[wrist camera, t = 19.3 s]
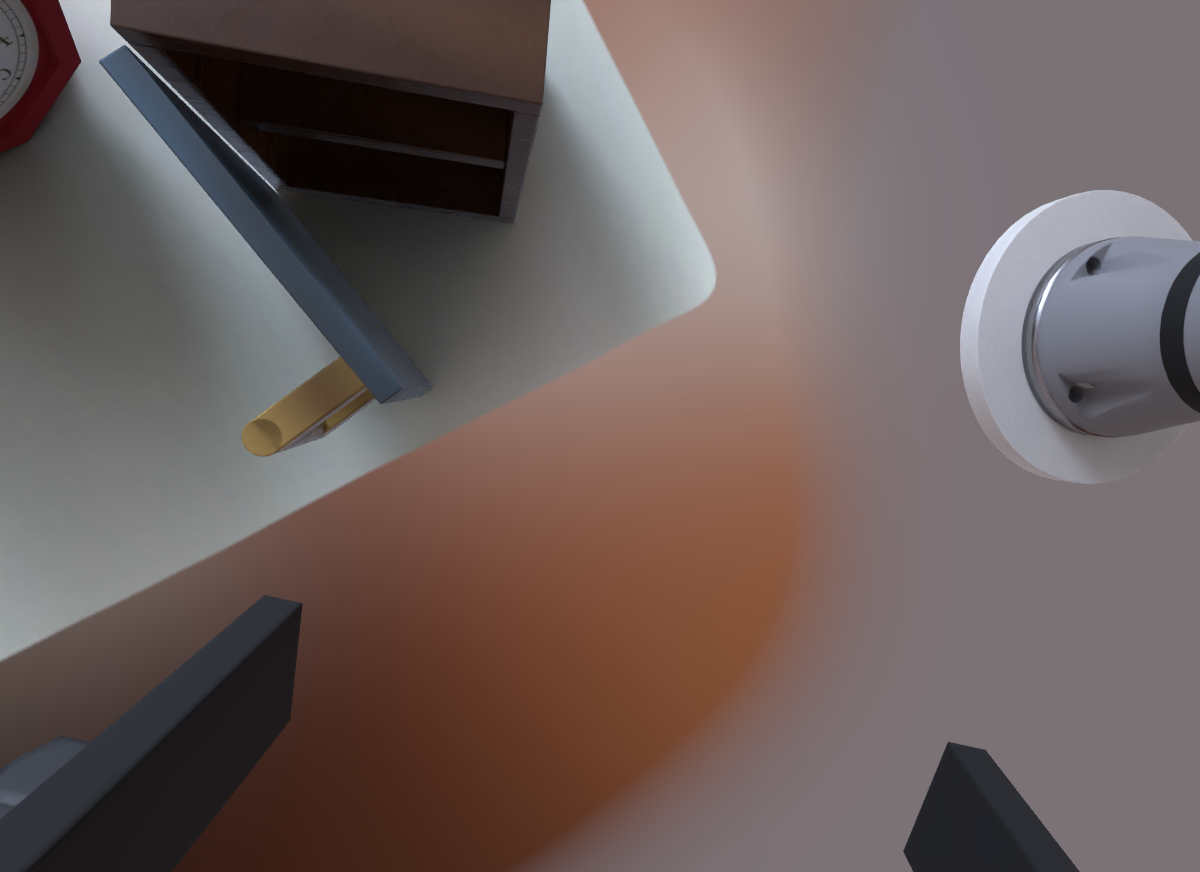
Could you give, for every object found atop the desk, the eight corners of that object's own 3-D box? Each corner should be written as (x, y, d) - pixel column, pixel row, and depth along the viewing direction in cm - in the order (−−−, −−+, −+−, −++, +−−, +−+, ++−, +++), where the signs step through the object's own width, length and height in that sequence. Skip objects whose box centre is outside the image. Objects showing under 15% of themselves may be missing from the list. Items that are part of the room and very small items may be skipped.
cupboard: (513, 223, 39) (542, 104, 23) (275, 189, 37) (108, 25, 20) (527, 44, 39) (567, -213, 22) (285, -5, 36) (122, -342, 19)
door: (343, 453, 38) (246, 503, 22) (181, 263, 36) (-64, 161, 19) (432, 387, 39) (402, 388, 23) (280, 196, 37) (124, 43, 20)
